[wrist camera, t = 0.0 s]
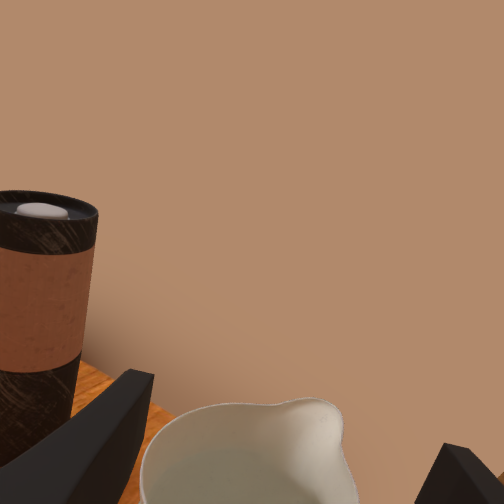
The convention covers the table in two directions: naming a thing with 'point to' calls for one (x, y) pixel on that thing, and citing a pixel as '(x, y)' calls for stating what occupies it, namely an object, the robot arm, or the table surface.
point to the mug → (501, 478)
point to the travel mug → (41, 312)
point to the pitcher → (250, 456)
